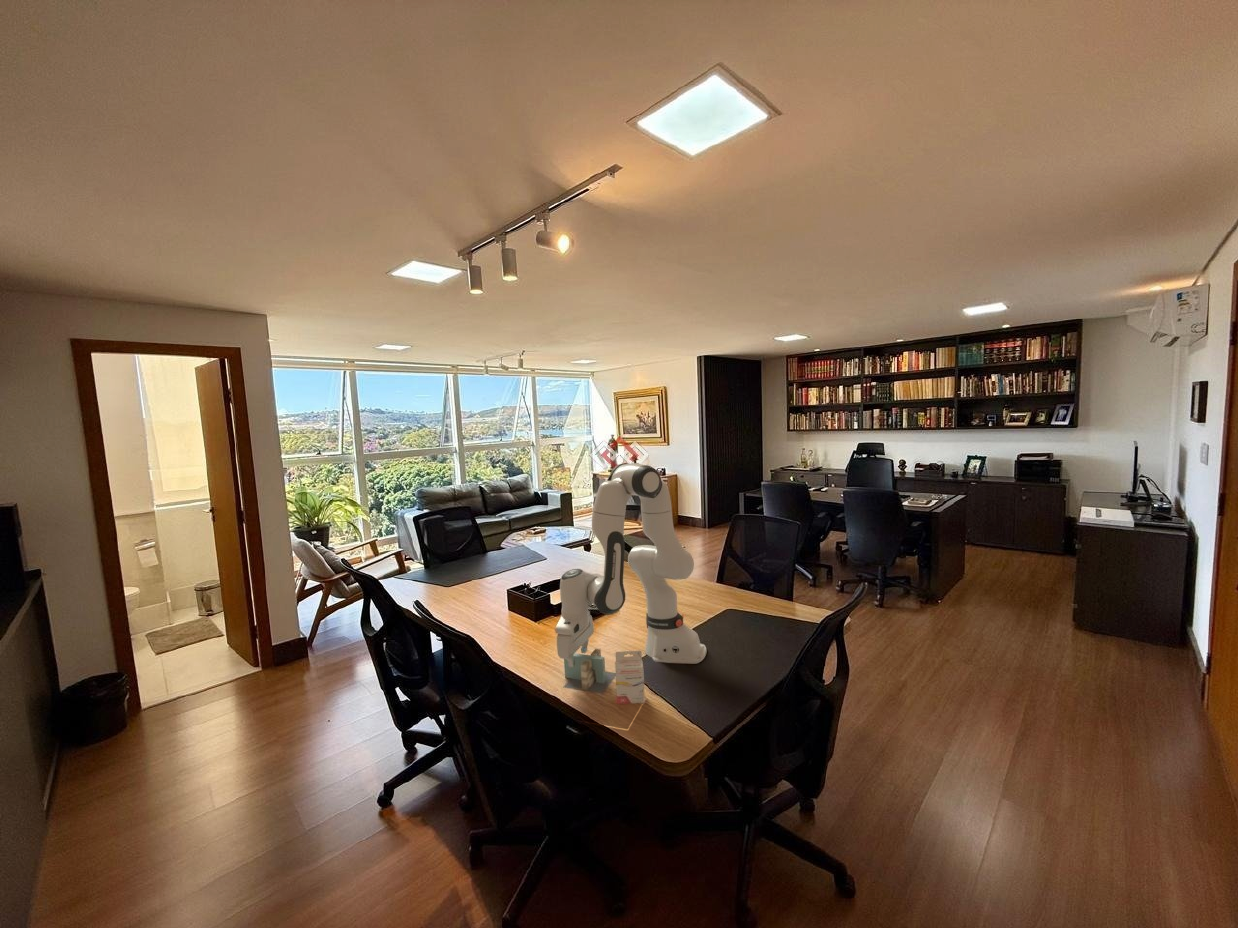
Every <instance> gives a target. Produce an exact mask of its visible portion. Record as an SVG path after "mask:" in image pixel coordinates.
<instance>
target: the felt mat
mask: <svg viewBox="0 0 1238 928" xmlns="http://www.w3.org/2000/svg"><path fill="white" fill-rule="evenodd" d="M605 677H606V681H605V682H604V683H598V682H596V680H595V681H594V682H593V683H592V685H591V686H590V687H589V688H588V690H583V689H582V680H578V679H571V678H569V680H568V681H567V682H566V683H565V684H564V685H563V688H566V689H571V690H578V691H584V692H590V693H597V694H603V695H604V693H605V692H606V690H607V689H608V688H609V686H610V684H611V683H612V682H613V681H614V679H616V672H611V671H606V670H605Z"/></svg>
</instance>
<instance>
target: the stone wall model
mask: <svg viewBox="0 0 1238 928" xmlns="http://www.w3.org/2000/svg"><path fill="white" fill-rule="evenodd" d="M590 655H591V656H599V657H602V651H601V648H594V650H593V651H592V652H591V653H590ZM581 679H582V689H583V690H588V688H589V687H590V686H591V685H592V683H593V682H594V681H595V680H596V674H595V670H592V665H591V660H589V659H586V660H585V661H584V662H583V663H582V664H581ZM583 690H582V691H583Z"/></svg>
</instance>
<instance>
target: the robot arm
mask: <svg viewBox="0 0 1238 928" xmlns="http://www.w3.org/2000/svg"><path fill="white" fill-rule="evenodd" d="M661 477H662V476H661V475H660V473H659V471H658V469H656V468H655V467H652V466H650V465H648V464H641V463H626V462H625V463H619V464H617V465H616V466H614V467H613V468H612V470H611V471H610V473H609V476H608V478H607V480H605V481H604V482H602V483H601V484H600V485H599V487H598V489H597V492H596V496H595V499H594V503H593V509H592V513H591V514H592V515H591V530H592V532H593V534H594V536H595V537H596V539H597V540H598V542H599V543H600V546H602V549H603V553H604V564H603V565H604V566H603V567H604V568H603V575H602V574H600V573H590V572H587V571H584V570H583V569H580V568H572V569H569V570H567V571H566V572H564V573H563V574H562V575H561V577H560V582H559V596H560V598H559V599H560V602H561V609H560V610H561V615H560V617H559V621H558V622H557V624H556V626H555V627H554V628H555V629H554V633H555V634H557V635H556V650H557V655H558V658H559V659H561V660H562V659H563V660H564V659H567V661H568V666H569V667H573V666H574V665H575V660H573V654H574V653H576V652H578V651H579V649H580V654H586V653H588V646H589V639H590V638H591V637H592V636H593V635H594V632H595V627H594V621H593V617H592V615H591V610H589V607H590V606H592V605H593V606H594V607H596V609H597V610H598V611H599V612H600V613H601V614H603V615H607V616H610V615H614V614H616V613H618V612H619V611H620V610H621V609H622V608H623V606H624V605H625V601H626V590H625V587H624V567H625V566H624V565H625V549H626V548H625V547H626V546H625V534H624V533H625V520H626V510H627V505H628V501H629V499H630V498H631V496H637V497H638V498H639V500H640V513H641V515H640V516H641V528H642V529H641V530H642V532H643V534H644V535H645V537H647V538H648V539H650V541H651V542H652V543H653V545H651V544H642V545H641V544H640V545H635V546H633V547H632V548H631V550H630V551H629V553H628V557H627V563H628V567H629V568H630V570H631V571H632V572H633V573H634V574H635V575H636V576H637V577H638V579H639V581H640V582H641V584H642V587H643V590H644V593H645V600H646V609H647V610H646V611H647V613H646V618H645V621H646V622H645V624H646V628H647V632H646V633H647V635H646V636H647V637H646V643H645V647H644V653H645V654H646V655H647V656H648V657H650V658H651V659H652V660H653V661H654V662H655V663H665V664H689V665H691V664H692V665H693V664H694V665H695V664H699V663H700V662H702V661H703V660H704V659H705V658H706V655H707V647H706V646H707V645H705V644H704V643H701V641H700V637H699V635H698V633H697V632H696V631H695V630H693V629H692V628H691V627H689V626H688V625H687V624H685V623H684V617H685V615H684V613H682V614H680V613H679V612H678V596H677V592H676V590H675V589H674V588H673V586H671V585H670V584H669V583H668V582H667V580H672V581H679V580H687V579H689V578H690V576H691V575H692V573H693V572H694V568H695V562H694V558H693V556H692V555H691V553H690V551H688V550H686V549H685V548H684V545H682V543H681V542H680V541H679V539H678V536H677V534H676V532H675V527H674V519H673V509H672V508H673V507H672V499H671V494H670V490H669V487H668V484H667V483H666V482H665V481H664V480H662V478H661ZM666 579H667V580H666Z"/></svg>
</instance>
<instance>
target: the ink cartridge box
mask: <svg viewBox="0 0 1238 928" xmlns="http://www.w3.org/2000/svg"><path fill="white" fill-rule="evenodd" d="M627 655H630V656H627ZM631 655H632V656H631ZM614 664H615V665H614V666H615V667H614V668H615V673H616V676H615V687H616V688H615V692H616V695H615V696H616V704H617V705H626V704H627V705H629V704H640V703H641V705H644V704H646V699H645V698H646V696H645V675H644V673H645V672H644V669H645V668H644V662H643V659H642V650H631V651H630V650H629V651H627V650H626V651H615V662H614Z"/></svg>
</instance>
